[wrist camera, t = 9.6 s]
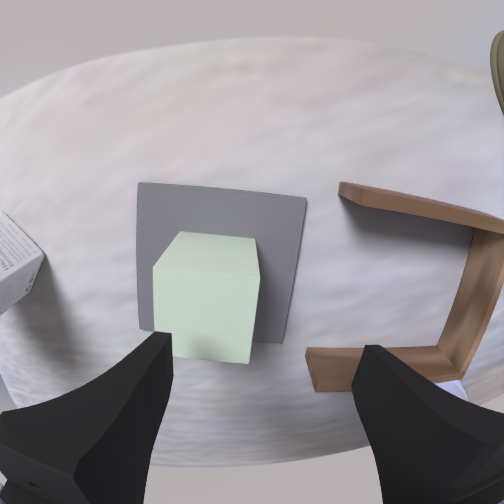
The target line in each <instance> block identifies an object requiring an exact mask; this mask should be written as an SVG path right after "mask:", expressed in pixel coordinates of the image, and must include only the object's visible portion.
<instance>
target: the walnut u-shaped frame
mask: <svg viewBox="0 0 504 504" xmlns="http://www.w3.org/2000/svg"><path fill="white" fill-rule="evenodd" d="M338 194H339V195H341V196H343V197H345V198H347V199H349V200H351V201H353V202H355V203H357V204H359V205H361V206H367V207H373V208H379V209H385V210H391V211H396V212H402V213H407V214H413V215H418V216H423V217H428V218H433V219H438V220H443V221H448V222H453V223H458V224H462V225H467V226H471V227H475V231H474V236H473V240H472V244H471V248H470V251H469V255H468V259H467V262H466V266H465V269H464V273H463V276H462V279H461V283H460V286H459V289H458V292H457V295H456V298H455V301H454V303H453V306H452V309H451V312H450V315H449V317H448V320H447V322H446V325H445V328H444V330H443V333H442V335H441V337H440V340H439V342H438V345H437V346H424V347H401V348H385V349H386V350H388V351H389V352H391V353H392V354H393V355H395V356H396V357H397V358H399V359H400V360H401V361H403V362H404V363H405V364H407V365H408V366H410V367H411V368H412V369H414V370H415V371H416V372H418V373H419V374H421V375H422V376H423V377H425V378H426V379H428V380H429V381H431V382H433V383H434V384H436V383H443V382H449V381H455V380H461V379H462V378H463V376H464V375H465V373H466V371H467V369H468V367H469V365H470V363H471V361H472V359H473V357H474V355H475V353H476V351H477V348H478V346H479V344H480V342H481V340H482V337H483V335H484V333H485V330H486V328H487V326H488V323H489V321H490V318H491V316H492V313H493V311H494V308H495V305H496V303H497V300H498V297H499V294H500V292H501V289H502V286H503V283H504V220H502V219H500V218H497V217H494V216H492V215H489V214H486V213H483V212H479V211H476V210H472V209H468V208H464V207H461V206H457V205H453V204H449V203H445V202H440V201H436V200H432V199H428V198H423V197H419V196H414V195H409V194H405V193H400V192H395V191H390V190H385V189H380V188H375V187H369V186H364V185H358V184H353V183H347V182H341V181H340V185H339V192H338ZM363 350H364V348H311V347H307V350H306V354H305V358H306V361H307V365H308V368H309V372H310V375H311V379H312V382H313V386H314V390H315V392H348V391H352V387H351V383H352V381H353V378H354V375H355V373H356V370H357V367H358V364H359V362H360V359H361V356H362V353H363Z"/></svg>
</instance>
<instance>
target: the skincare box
mask: <svg viewBox="0 0 504 504" xmlns="http://www.w3.org/2000/svg"><path fill="white" fill-rule="evenodd" d="M44 256H45V255H44V253H43V252H42V250H41V249H40V248H39V247H38V246H37V245H36V244H35V243H34V242H33V241H32V240H31V239H30V238H29V237H28V236H27V235H26V234H25V233H24V232H23V231H22V230H21V229H20V228H19V227H18V226H17V225H16V224H15V223H14V222H13V221H12V220H11V219H10V218H9V217H8V216H7V215H6V214H5V213H4V212H3V211H2V210H0V316H1V315H2V314H3V313H4V312H5V311H7V310H8V309H9V308H10V307H11V306H13V305H14V304H15V303H16V302H18V301H19V300H20V299H21V298H23V297H24V296H25V295H27V294H28V293H29V292H30V291H31V288H32V286H33V283H34V281H35V278H36V276H37V273H38V271H39V268H40V266H41V263H42V261H43V259H44Z"/></svg>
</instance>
